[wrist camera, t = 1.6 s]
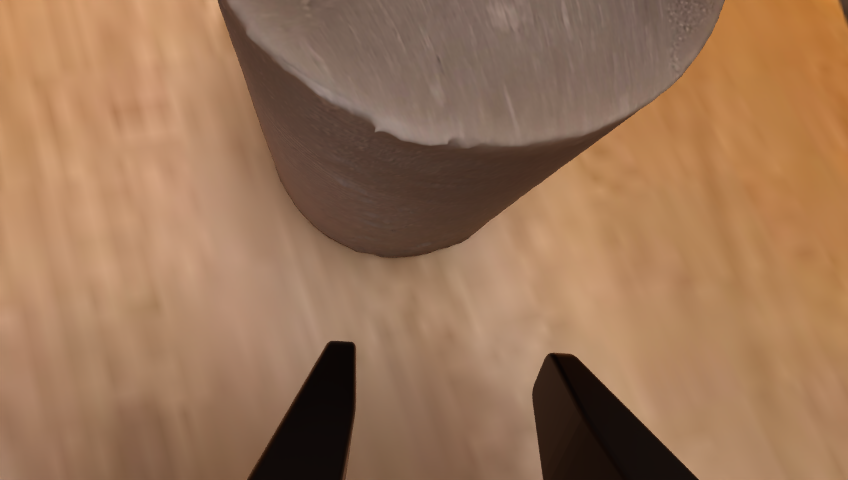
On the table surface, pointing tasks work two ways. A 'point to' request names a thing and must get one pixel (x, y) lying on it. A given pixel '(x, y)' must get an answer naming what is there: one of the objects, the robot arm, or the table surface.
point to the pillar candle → (446, 101)
